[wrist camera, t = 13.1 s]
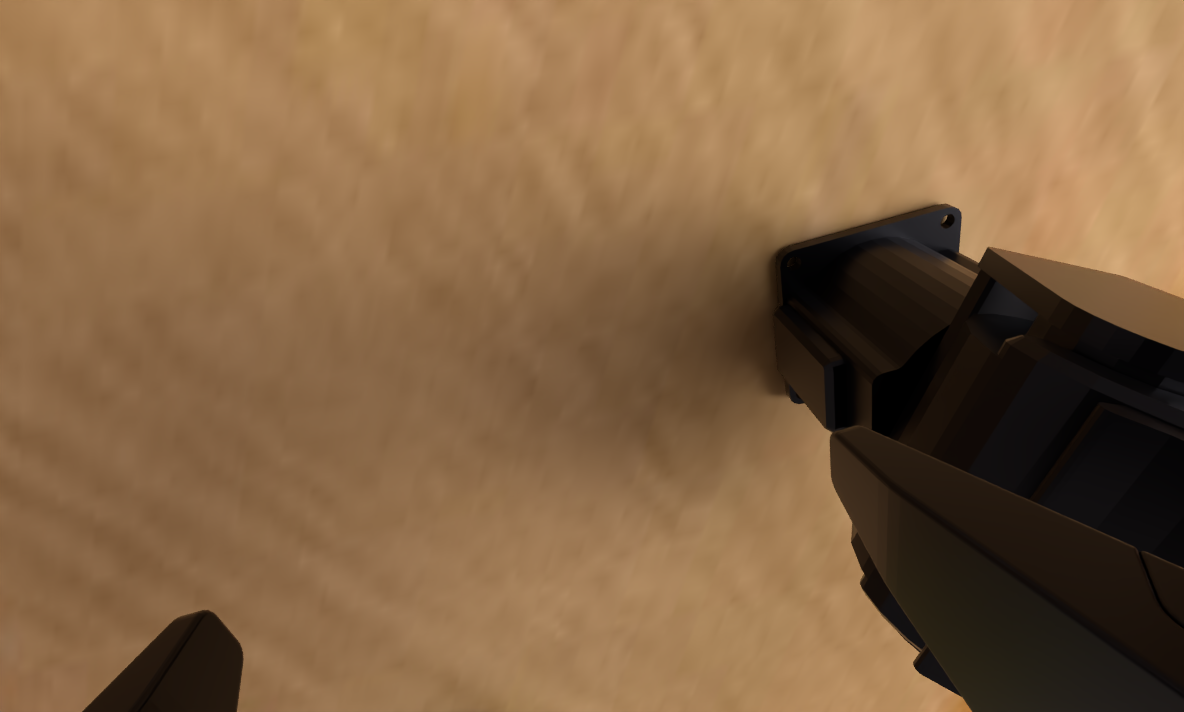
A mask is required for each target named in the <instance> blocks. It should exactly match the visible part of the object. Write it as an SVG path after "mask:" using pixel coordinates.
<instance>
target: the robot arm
mask: <svg viewBox="0 0 1184 712" xmlns="http://www.w3.org/2000/svg"><path fill="white" fill-rule="evenodd" d="M946 215H947V219H946V221H945V222H944V223H943V224H941V220H942V219H943V217H944V216H946ZM961 219H962V217H961V212H960V211H959V209H957V208H955V207H953V206H950V205H948V204H940V205H937V206H933V207H930V208H926V209H922V210H919V211H915V212H911V213H908V214H904V215H901V216H897V217H893V218H890V219H886V220H882V221H879V222H875V223H872V224H868V225H864V226H861V227H857V228H854V229H850V230H846V231H843V232H839V233H835V234H832V235H828V236H825V237H821V238H817V239H814V240H810V241H806V242H803V243H799V244H796V245H792V246H788V247H786V248H784V249H783V250H782V251H780V252H779V254H778V256H777V258H776V276H777V289H778V301H779V307H777V308H776V310H775V312H774V314H773V322H774V334H775V345H776V357H777V368H778V371H779V372H780V373H781V374H782V376H783V377H784V378H785V389H786V393H787V395H788V397H789V398H790V399H791V401H793V402H794V403H797V404H802V403H805V404H806V405H807V407H808V408H809V409H810V410H811V411H812V413H813V414H814V415H815V416H816V418H817V419H818V420H819V421H820V423H821V424H822V425H823V426H824V428H825V429H827V430H829V431H831V432H832V434H831V437H830V464H831V478H832V482H833V485H834V488H835V490H836V492H837V494H838V496H839V498H840V500H841V502H842V504H843V505H844V507H845V509H846V511H847V513H848V515H849V517H850V519H851V521H852V537H851V543H852V546H853V549H854V551H855V554H856V556H857V559H858V561H859V564H860V567H861V569H862V571H863V572H864V575H863V577H862V578H861V581H860V584H861V587H862V589H863V591H864V592H865V594H866V596H867V597H868V598H869V599H870V601H871V602H872V603H873V605H874V606H875V607H876V609H877V610H878V611H879V612H880V614H881V615H882V616H883V617H884V618H885V619H886V620H887V621H888V622H889V623H890V624H891V625H892V626H893V627H894V628H895V629H896V630H897V631H898V633H899V634H900V635H901V636H902V637H903V638H904V639H905V640H906V641H907V642H908V643H910V644H911V645H912V646H913V647H914V648H915V649H917V650H918V651H919V652H920V653H919V655H918V656H917V657H916V659H915V660H914V662H913V664H914V667H915V669H916V670H917V671H918V672H919V673H920V674H922V675H923V676H925V677H927V678H929V679H930V680H932V681H934V682H936V683H938V684H939V685H941V686H943V687H945V688H947V689H948V690H950V691H952V692H954V693H956V694H957V695H959V696H961V697H963V699H964V700H965V702H966V703H967V705H968V706H969V708H970V709H971V710H972V712H1184V299H1183V298H1180V297H1177V296H1175V295H1172V294H1169V293H1167V292H1164V291H1161V290H1159V289H1156V288H1153V287H1151V286H1148V285H1145V284H1143V283H1140V282H1137V281H1135V280H1132V279H1129V278H1127V277H1123V276H1120V275H1116V274H1111V273H1107V272H1102V271H1098V270H1093V269H1089V268H1084V267H1079V266H1075V265H1070V264H1066V263H1061V262H1057V261H1052V260H1047V259H1043V258H1038V257H1034V256H1029V255H1025V254H1020V253H1015V252H1011V251H1006V250H1002V249H997V248H993V247H988V248H987V250H986V252H985V253H984V255H983V257H982V259H981V261H980V262H979V263H978V262H976V261H974V260H972V259H970V258H968V257H966V256H964V255H962V254H960V253H959V243H960V231H961ZM793 257H796V262H795V263H794V264H793V265H792V266H790V267H787V263H788V261H789V260H790V259H791V258H793ZM242 668H243V651H242V647H241V645H240V643H239V642H238V640H237V639H236V638H235V637H234V635H233V634H232V633H231V632H230V631H229V630H228V628H227V627H226V626H225V625H224V624H223V622H222V621H221V620H220V619H219V618H218V617H217V615H216V614H215V613H213V612H211V611H209V610H202V611H198V612H195V613H191V614H188V615H184V616H181V617H179V618H177V619H175V620H174V621H173V622H172V623H170V624H169V625H168V626H167V627H166V628H165V629H164V630H163V631H162V632H161V633H160V634H159V635H158V636H157V637H156V638H155V639H154V640H153V641H152V642H151V643H150V644H149V645H148V646H147V647H146V648H145V649H144V650H143V651H142V652H141V653H140V654H139V655H138V656H137V657H136V658H135V659H134V660H133V661H132V662H131V663H130V664H129V665H128V666H127V667H126V668H125V669H124V670H123V671H122V672H121V673H120V674H119V675H118V676H117V677H116V678H115V679H114V680H113V681H112V682H111V683H110V684H109V685H108V686H107V687H106V688H105V689H104V690H103V691H102V692H101V693H100V694H99V695H98V696H97V697H96V698H95V699H94V700H93V701H92V702H91V703H90V704H89V705H88V706H87V707H86V708H85V709H84V710H83V711H82V712H237V706H238V699H239V691H240V683H241V675H242Z"/></svg>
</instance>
